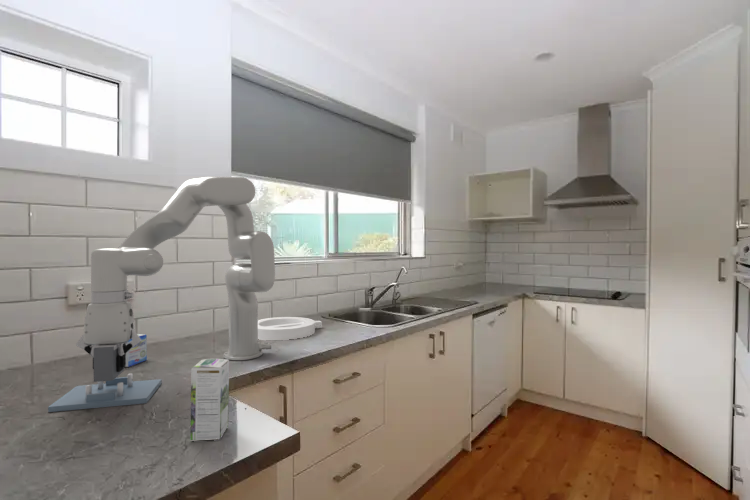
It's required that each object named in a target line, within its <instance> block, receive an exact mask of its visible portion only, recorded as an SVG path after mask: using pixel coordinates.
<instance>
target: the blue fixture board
mask: <svg viewBox="0 0 750 500" xmlns="http://www.w3.org/2000/svg"><path fill="white" fill-rule="evenodd" d="M133 378H134V377H133V373H131V372H130V373H128V374H127V375H126V376H123V377H119V376H118V377H116V378H115V379H114V380H113V381H105V383H104V381H99V382H97V383H96V384H93V383H92V384H84V385H76V386H74V387H73V388H72V389H71V390H69V391H68V392H66V393H65V394H64V395H62V396H61V397H60V398H58V399H57V400H55V401H54V402H53V403H51V404H50V405H49V406H48V407H47V411H48V413H53V412H54V413H55V412H64V411H75V410H86V409H95V408H97V409H98V408H99V409H100V408H107V407H108V408H110V407H118V406H130V405H139V404H140V405H141V404H148V402H149V400H150V399H151V398H152V397H153V395H154V394H155V393H156V392H157V390H158V389H159V387H161V385H162V383H163V382H162V381H163V379H162V378H160V379H158V378H157V379H147V380H133Z"/></svg>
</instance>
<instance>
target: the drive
mask: <svg viewBox="0 0 750 500" xmlns="http://www.w3.org/2000/svg"><path fill="white" fill-rule="evenodd" d="M117 356H118V349H117V344H103V345H98V346H96V347H95V348H94V369H93V383H98V382H99V381H103V382H106V381H113V380H114V379H115V378H118V377H119V376H120V375H121V374H122V373H123V372H124V371H125V367H124V368H123V370H121V371H120V372H117V371H116V357H117Z"/></svg>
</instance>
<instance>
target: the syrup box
mask: <svg viewBox="0 0 750 500" xmlns="http://www.w3.org/2000/svg"><path fill="white" fill-rule="evenodd" d="M229 388H230V360H228V359H226V358H206V359H204V358H203V359H200V361H199V362H198V363H196V364H195V365H193V366H192V367H191V369H190V420H189V421H190V425H189V426H190V436H189V437H190V438H189V440H205V439H216V438H217V439H218V438H221V436H222V435H223V433H224V431H225V430H226V428H227V427H228V428H229V412H230V410H229V407H230V406H229V405H230V404H229V402H230V401H229V400H230V399H229V398H230V392H229V391H230V389H229ZM228 428H227V429H228ZM226 431H227V430H226ZM226 431H225V432H226ZM224 434H225V433H224ZM223 436H224V435H223ZM223 436H222V437H223ZM221 439H222V438H221Z"/></svg>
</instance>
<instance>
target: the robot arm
mask: <svg viewBox="0 0 750 500" xmlns="http://www.w3.org/2000/svg"><path fill="white" fill-rule="evenodd" d="M253 183H254V182H252V180H250V179H249V178H247V177H243V176H239V177H238V176H228V177H227V176H226V177H225V176H205V177H204V176H203V177H197V178H196V177H195V178H191V179H188V180H186V181H184V182H183V183H182V184H181V185H180V186H179V187H178V189H176V191H175V192H174V193H173V195H172V196H171V197H170V198H169V200H168V201H167V202H166V203H165V204H164V205H163V207H161V209H160V210H159V211H158V212H157V213H156V214H154V215H153V216H151V217H150V218H149V219H148V220H146V221H145V222H144V223H143V224H141V225H140V226H138V227H137V228H136V229H134V230H133V231H132V232H131V233H130V234H129V235H128V236H127V237H126V238H125V239H124V241H122V243H121V244H120V245H119V247H118V248H114V247H113V248H107V247H106V248H95V249H94V250H92V252H91V254H90V303H89V304H88V305H87V308H86V311H85V317H84V322H83V324H84V325H83V333H82V335H81V336H80V338H79V339H78V340H77V342H76V343H75V345H76V347H78V348H79V349H82V350H84V351H85V352H86V353H87V354H89V356H90V358H92V370H94V348H95V347H96V346H98V345H103V344H117V349H118V356H117V357H116V371H117V372H120V371H121V370H123V368H124V369H125V368H126V367H125V365H126V353H127V352H128V351H129V350H130V349H131V348H132V347H133V346H135V345H136V344H138V343H139V342H141V339H140V337H139V336H138V335H137V334H138V333H137V332H136V328H135V317H134V310H133V305H132V301H129V299H134V292H129V290H128V276H136V277H137V276H138V277H150V276H153V275H156V274H157V273H158V272H161V271H160V270H161V269H162V268H163V265H164V258H163V256H162V254H161V253H160V252H159V251H158V250H156V249H155V248H156V247H157V246H159V245H160V244H162V243H164V242H166V241H168V240H170V239H173V238H175V237H178V236H179V235H181V234H183V233H184V232H185V231H187V230H188V228H189V227H190V226H191V224H192V223H193V222H194V220H195V219H196V217H198V215H199V213H201V211H202V209H203V208H205V207H214V206H217V207H218V208H219V209H220V210H221V211H222V212H223V214H224V217H225V218H226V228H227V247H228V252H229V254H230V256H231V257H232V258H233V259H237V260H250V263H249V262H241V263H240V262H238V263H235V264H233V265H231V266H229V268H228V269H227V270H226V273H225V277H224V281H225V286H226V290H227V291H226V292H227V298H228V299H227V300H228V350H227V351H225V352H224V353H223V359H227V360H229V361H246V360H252V359H253V360H254V359H257V358H259V357H261V356H262V355H263V350H272V343H268V342H263V343H262V342H260V340H258V320H259V314H258V312H259V311H258V310H259V307H258V306H259V303H258V299H257V295H256V293H261V294H262V293H267V292H269V291H270V290H271V289H272V288H273V286H274V283H275V281H276V269H275V268H276V266H275V246H274V242H273V240H272V237H271V236H270V235H269V234H268V233H266V232H264V231H262V230H255V225H254V217H253V214H252V211H251V209H250V207H249V206H248V204H249V203H251V202H252V201H253V199H255V196H256V188H255V187H256V186H255V185H254V184H253ZM130 339H132V342H131V343H129V344H128V345H126V342H128V341H129V340H130Z"/></svg>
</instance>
